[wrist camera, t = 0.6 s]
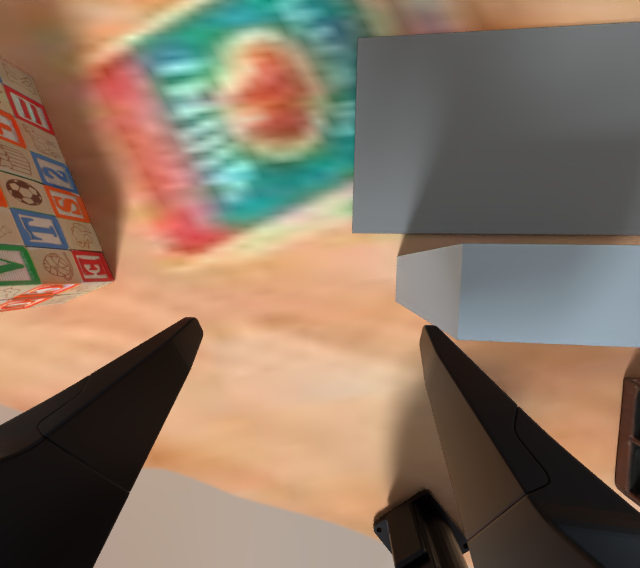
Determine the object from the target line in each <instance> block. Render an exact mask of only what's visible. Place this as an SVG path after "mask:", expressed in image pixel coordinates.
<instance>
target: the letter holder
mask: <svg viewBox="0 0 640 568" xmlns="http://www.w3.org/2000/svg"><path fill="white" fill-rule="evenodd" d="M615 485H616V487H617V489H619V490H620V491H621V492H622V493H623V494H624V495H625V496H627V497H628V498H629V499H630V500H632V501H633V502H634V503H636V504H637V505H638V506H640V379H637V378H627V379H624V391H623V401H622V411H621V422H620V432H619V444H618V454H617V464H616V477H615Z"/></svg>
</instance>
